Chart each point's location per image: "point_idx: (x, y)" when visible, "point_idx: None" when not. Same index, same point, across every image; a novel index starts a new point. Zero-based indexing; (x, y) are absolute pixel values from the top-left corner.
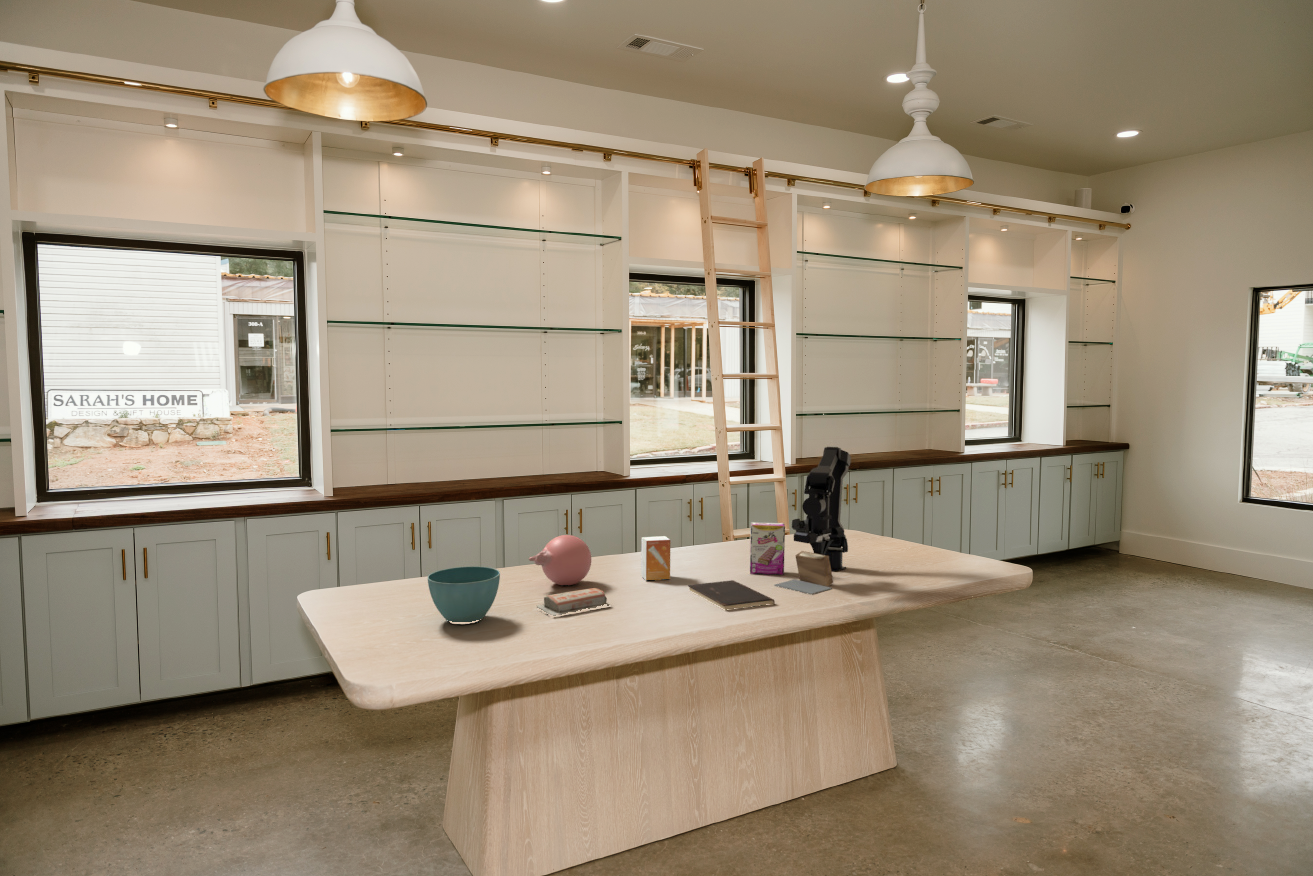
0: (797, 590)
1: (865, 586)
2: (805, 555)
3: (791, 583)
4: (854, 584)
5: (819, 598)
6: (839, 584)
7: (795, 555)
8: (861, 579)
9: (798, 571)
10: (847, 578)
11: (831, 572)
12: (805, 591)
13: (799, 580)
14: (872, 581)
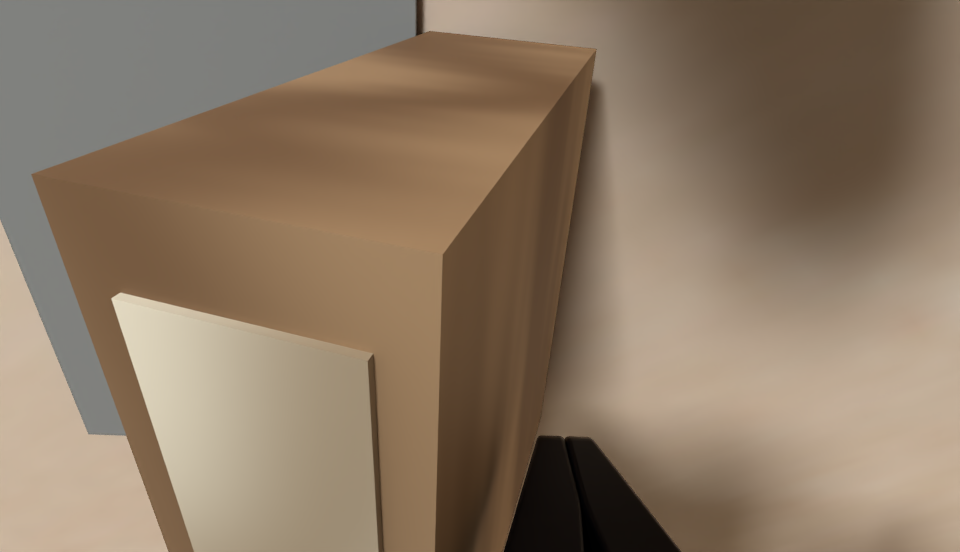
0: (32, 290)
1: (692, 548)
2: (202, 483)
3: (179, 51)
4: (706, 481)
5: (82, 505)
6: (621, 409)
7: (38, 173)
8: (939, 445)
9: (352, 63)
10: (924, 351)
11: (510, 518)
12: (83, 366)
13: (412, 32)
14: (899, 520)
